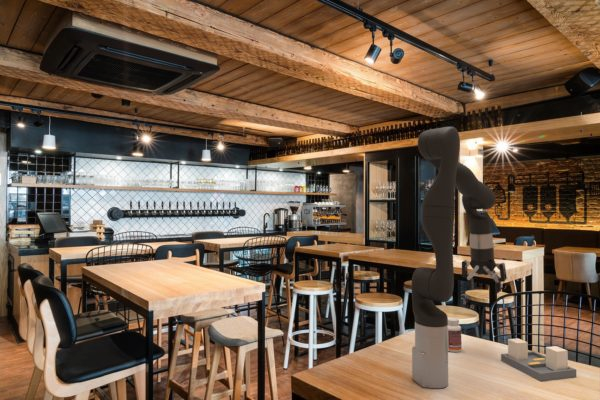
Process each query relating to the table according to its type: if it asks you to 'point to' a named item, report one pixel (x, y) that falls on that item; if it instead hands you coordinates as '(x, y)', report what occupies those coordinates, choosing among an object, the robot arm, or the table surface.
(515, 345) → the tab left
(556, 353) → the tab right
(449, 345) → the pill bottle
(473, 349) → the table surface
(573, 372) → the switch board
